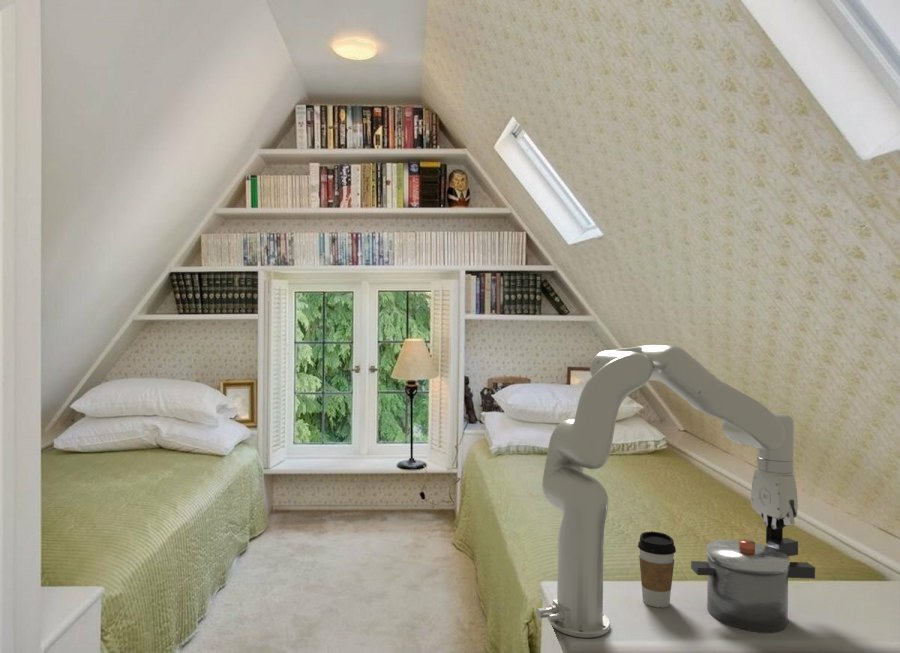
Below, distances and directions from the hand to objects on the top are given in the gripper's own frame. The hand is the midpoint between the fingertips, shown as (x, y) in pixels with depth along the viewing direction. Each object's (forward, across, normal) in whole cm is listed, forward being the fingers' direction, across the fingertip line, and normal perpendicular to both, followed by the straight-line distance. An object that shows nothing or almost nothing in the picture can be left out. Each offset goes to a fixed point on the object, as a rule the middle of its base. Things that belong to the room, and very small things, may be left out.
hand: (774, 544), depth 141 cm
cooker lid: (+1, +5, -9) cm, 10 cm away
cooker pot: (+13, +5, -11) cm, 18 cm away
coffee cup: (+13, -5, -28) cm, 31 cm away
